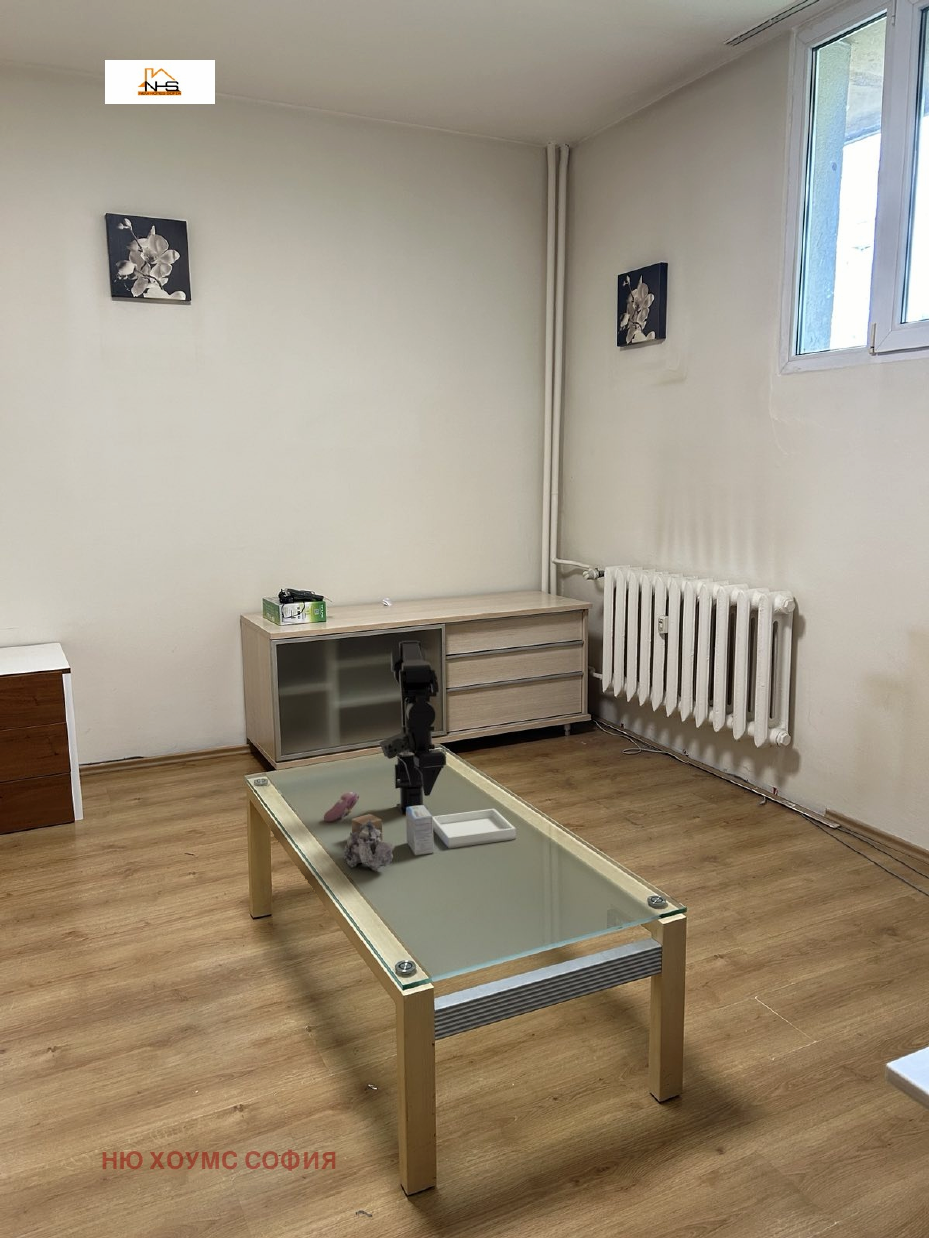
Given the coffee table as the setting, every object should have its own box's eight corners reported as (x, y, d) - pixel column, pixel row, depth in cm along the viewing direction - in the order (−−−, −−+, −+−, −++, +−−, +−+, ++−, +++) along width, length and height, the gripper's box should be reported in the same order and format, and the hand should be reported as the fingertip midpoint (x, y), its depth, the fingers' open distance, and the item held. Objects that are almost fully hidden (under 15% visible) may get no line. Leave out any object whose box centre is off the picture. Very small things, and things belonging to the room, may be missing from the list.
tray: (431, 826, 219) (430, 816, 218) (494, 818, 224) (494, 808, 224) (449, 848, 206) (448, 837, 205) (515, 838, 211) (515, 828, 210)
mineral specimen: (400, 858, 191) (377, 810, 193) (355, 880, 188) (333, 832, 191) (396, 863, 203) (375, 819, 206) (355, 884, 200) (334, 839, 203)
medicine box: (434, 853, 203) (433, 816, 202) (414, 856, 202) (413, 818, 201) (425, 840, 211) (424, 804, 209) (406, 843, 209) (405, 806, 208)
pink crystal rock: (336, 829, 222) (347, 806, 220) (321, 819, 223) (332, 796, 221) (354, 815, 231) (365, 792, 230) (339, 806, 232) (349, 783, 231)
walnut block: (352, 839, 212) (351, 818, 211) (370, 834, 215) (370, 813, 214) (363, 846, 208) (363, 824, 207) (382, 840, 211) (381, 819, 210)
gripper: (371, 718, 209) (373, 786, 210) (395, 731, 192) (398, 805, 193) (417, 714, 213) (419, 780, 214) (446, 726, 196) (448, 798, 197)
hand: (420, 790), depth 204 cm, fingers open, 9 cm apart
